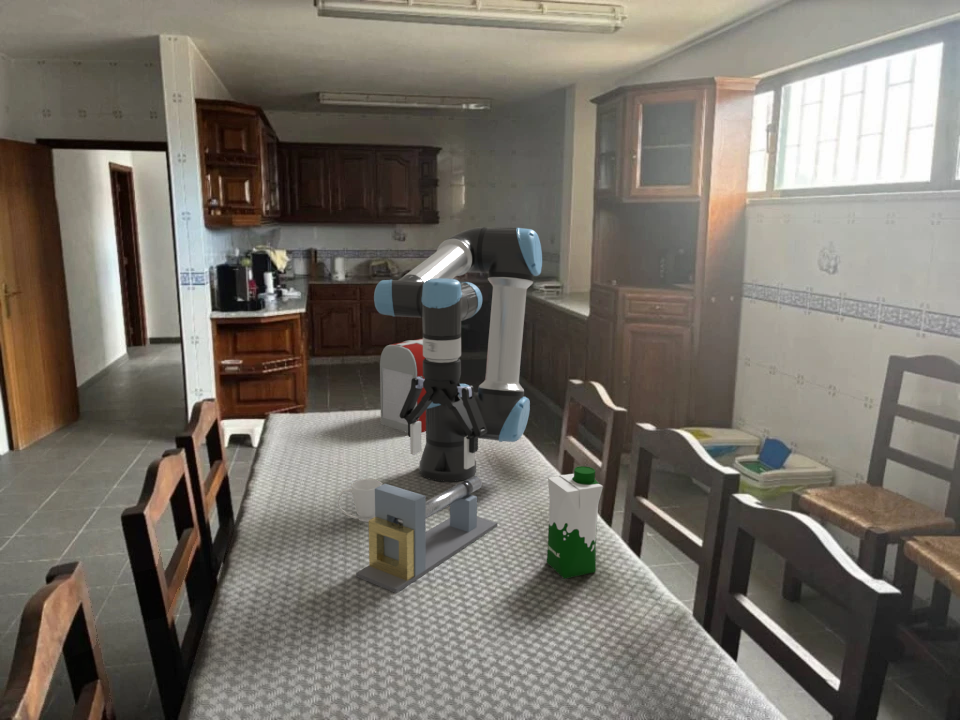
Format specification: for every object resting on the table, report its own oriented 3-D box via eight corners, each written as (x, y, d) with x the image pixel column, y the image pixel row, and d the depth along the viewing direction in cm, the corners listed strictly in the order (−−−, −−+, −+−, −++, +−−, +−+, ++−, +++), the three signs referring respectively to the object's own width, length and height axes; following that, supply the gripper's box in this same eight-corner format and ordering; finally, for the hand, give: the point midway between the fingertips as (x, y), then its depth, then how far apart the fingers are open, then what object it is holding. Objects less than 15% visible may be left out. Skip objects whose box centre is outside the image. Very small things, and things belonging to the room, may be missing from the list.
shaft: (470, 487, 157) (470, 474, 156) (481, 490, 155) (482, 477, 155) (393, 529, 136) (392, 514, 135) (405, 534, 134) (405, 519, 134)
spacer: (376, 561, 138) (375, 516, 136) (414, 576, 133) (413, 529, 131) (369, 565, 137) (368, 520, 135) (407, 580, 131) (407, 533, 129)
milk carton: (602, 573, 137) (608, 476, 133) (561, 582, 133) (566, 483, 129) (578, 553, 145) (583, 460, 140) (539, 561, 141) (543, 466, 137)
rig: (460, 514, 162) (461, 448, 158) (497, 526, 156) (499, 457, 153) (356, 576, 134) (354, 497, 131) (396, 593, 129) (395, 511, 125)
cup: (384, 523, 157) (383, 489, 155) (338, 526, 155) (337, 492, 153) (382, 510, 163) (381, 477, 162) (338, 512, 162) (337, 479, 160)
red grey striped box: (379, 423, 227) (377, 341, 222) (418, 412, 241) (418, 334, 235) (415, 435, 217) (415, 348, 211) (454, 422, 230) (454, 341, 224)
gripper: (381, 353, 143) (383, 452, 148) (483, 371, 129) (482, 479, 134) (405, 346, 149) (406, 442, 154) (505, 363, 135) (503, 467, 140)
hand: (442, 459), depth 144 cm, fingers open, 13 cm apart
